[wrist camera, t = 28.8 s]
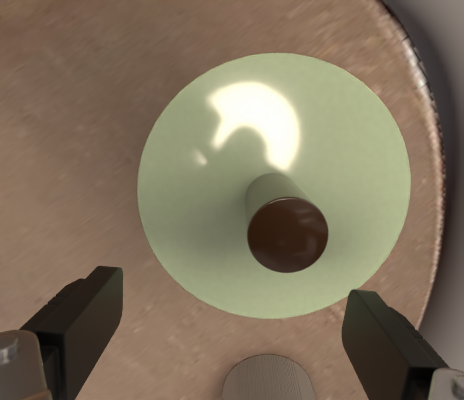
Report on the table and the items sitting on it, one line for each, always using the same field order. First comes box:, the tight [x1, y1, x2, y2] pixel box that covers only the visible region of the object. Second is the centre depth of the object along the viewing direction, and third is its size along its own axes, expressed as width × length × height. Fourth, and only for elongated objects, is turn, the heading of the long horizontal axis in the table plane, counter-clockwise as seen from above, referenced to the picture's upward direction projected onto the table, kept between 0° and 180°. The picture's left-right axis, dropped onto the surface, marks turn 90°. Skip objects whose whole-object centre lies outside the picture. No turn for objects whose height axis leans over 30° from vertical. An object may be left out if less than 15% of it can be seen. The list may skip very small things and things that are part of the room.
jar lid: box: [137, 53, 411, 319], centre depth 14 cm, size 14×14×6 cm
